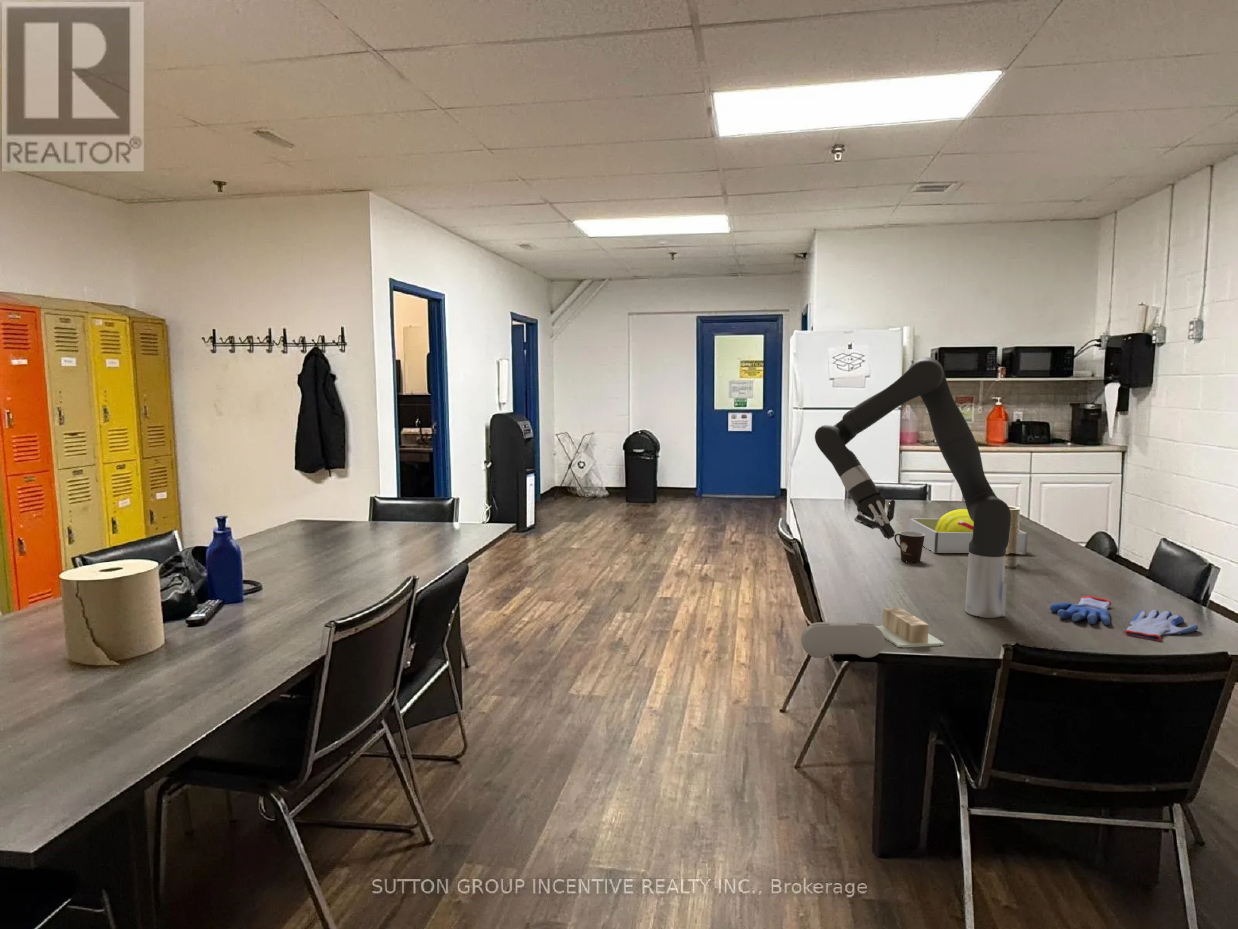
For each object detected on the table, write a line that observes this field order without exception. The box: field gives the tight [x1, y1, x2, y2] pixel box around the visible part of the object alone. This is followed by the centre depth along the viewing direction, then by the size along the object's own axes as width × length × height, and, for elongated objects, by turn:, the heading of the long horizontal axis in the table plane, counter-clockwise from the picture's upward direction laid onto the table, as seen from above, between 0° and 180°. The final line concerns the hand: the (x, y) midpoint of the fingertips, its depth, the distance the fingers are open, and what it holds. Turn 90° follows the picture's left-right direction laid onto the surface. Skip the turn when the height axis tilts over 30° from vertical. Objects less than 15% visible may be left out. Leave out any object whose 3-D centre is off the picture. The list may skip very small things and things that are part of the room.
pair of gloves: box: [1049, 594, 1199, 642], centre depth 201 cm, size 32×26×4 cm
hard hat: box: [935, 508, 974, 532], centre depth 288 cm, size 20×26×15 cm
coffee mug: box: [893, 530, 925, 563], centre depth 268 cm, size 12×9×10 cm
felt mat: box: [876, 625, 945, 648], centre depth 189 cm, size 14×12×1 cm
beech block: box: [882, 607, 930, 643], centre depth 189 cm, size 4×4×14 cm
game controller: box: [800, 621, 886, 659], centre depth 175 cm, size 20×2×8 cm, turn 91°
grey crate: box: [907, 517, 1029, 554], centre depth 291 cm, size 34×28×8 cm
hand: (891, 537), depth 206 cm, fingers closed
